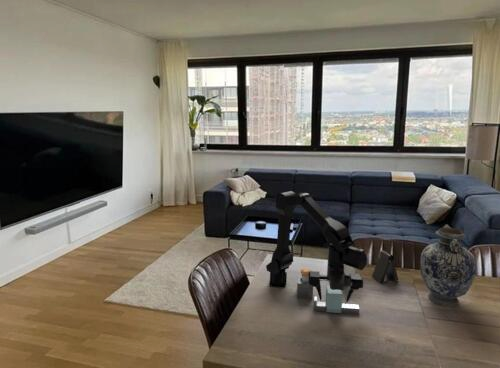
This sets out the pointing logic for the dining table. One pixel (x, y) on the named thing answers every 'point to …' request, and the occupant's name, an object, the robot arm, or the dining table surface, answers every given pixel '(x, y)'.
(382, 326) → the dining table surface
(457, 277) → the decorative vase
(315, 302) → the rail
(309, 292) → the grey hollow box
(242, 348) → the dining table surface
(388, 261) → the black tent sign
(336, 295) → the grey block
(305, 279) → the orange and white mushroom
